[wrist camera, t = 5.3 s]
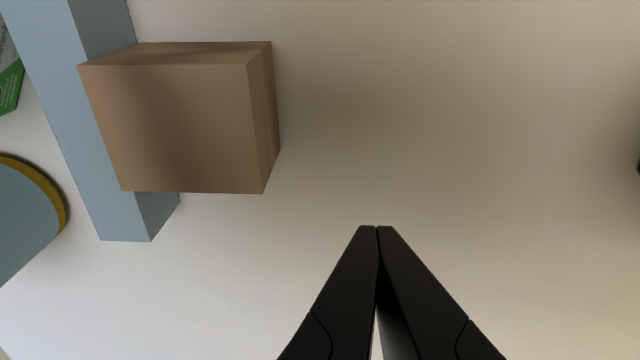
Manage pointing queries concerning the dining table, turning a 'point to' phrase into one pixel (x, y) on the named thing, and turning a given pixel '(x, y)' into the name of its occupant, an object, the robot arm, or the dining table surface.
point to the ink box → (9, 70)
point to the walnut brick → (187, 115)
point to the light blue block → (83, 104)
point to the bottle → (25, 215)
